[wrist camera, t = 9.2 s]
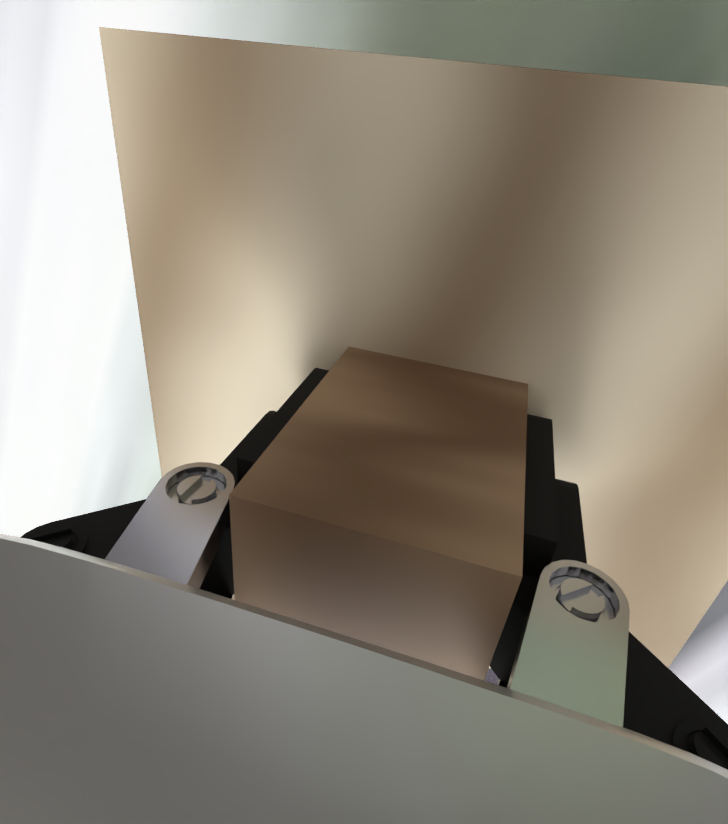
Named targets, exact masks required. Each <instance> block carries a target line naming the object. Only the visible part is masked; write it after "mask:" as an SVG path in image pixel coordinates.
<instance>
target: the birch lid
mask: <svg viewBox="0 0 728 824" xmlns="http://www.w3.org/2000/svg"><path fill="white" fill-rule="evenodd" d="M99 30H100V37H101V44H102V51H103V58H104V65H105V73H106V80H107V87H108V94H109V101H110V109H111V116H112V123H113V130H114V137H115V144H116V152H117V159H118V166H119V173H120V180H121V188H122V195H123V202H124V209H125V216H126V223H127V231H128V238H129V245H130V252H131V259H132V267H133V274H134V281H135V288H136V295H137V302H138V310H139V317H140V324H141V331H142V338H143V346H144V353H145V360H146V367H147V374H148V381H149V389H150V396H151V403H152V410H153V417H154V425H155V432H156V439H157V446H158V453H159V460H160V468H161V475H162V477H163V476H164V475H165V474H166V473H167V472H169V471H171V470H172V469H174V468H176V467H179V466H182V465H185V464H189V463H196V462H208V463H214V464H218V465H220V464H221V463H222V462H223V461H224V460H225V459H226V457H227V456H228V455H229V454H230V453H231V452H232V451H233V450H234V449H235V447H236V446H237V445H238V444H239V443H240V442H241V441H242V440H243V439H244V438H245V436H246V435H247V434H248V433H249V432H250V431H251V430H252V429H253V428H254V426H255V425H256V424H257V423H258V422H259V421H260V420H261V419H262V418H263V416H264V415H265V414H266V413H267V412H269V411H278V410H279V408H280V407H281V406H282V405H283V404H284V403H285V402H286V400H287V399H288V398H289V397H290V396H291V395H292V394H293V392H294V391H295V390H296V389H297V388H298V387H299V386H300V384H301V383H302V382H303V381H304V380H305V379H306V377H307V376H308V375H309V374H310V373H311V372H312V371H313V369H315V368H320V369H325V370H330V371H329V372H328V373H327V374H326V375H325V377H324V378H323V379H322V380H321V382H320V383H319V384H318V385H317V387H316V388H315V389H314V390H313V392H312V393H311V394H310V395H309V397H308V398H307V399H306V400H305V401H304V403H303V404H302V405H301V406H300V408H299V409H298V410H297V411H296V413H295V414H294V415H293V416H292V418H291V419H290V420H289V421H288V423H287V424H286V425H285V426H284V428H283V429H282V430H281V431H280V432H279V434H278V435H277V436H276V437H275V439H274V440H273V441H272V442H271V444H270V445H269V446H268V447H267V449H266V450H265V451H264V452H263V454H262V455H261V456H260V457H259V458H258V460H257V461H256V462H255V463H254V465H253V466H252V467H251V468H250V470H249V471H248V472H247V473H246V475H245V476H244V477H243V478H242V480H241V481H240V482H239V483H238V484H237V486H236V487H235V488H234V489H233V491H232V492H231V493H230V494H229V504H230V523H231V541H232V560H233V578H234V597H235V600H236V601H239V602H243V603H246V604H249V605H252V606H255V607H258V608H261V609H264V610H268V611H271V612H274V613H277V614H280V615H283V616H286V617H289V618H293V619H296V620H299V621H302V622H305V623H308V624H311V625H314V626H318V627H321V628H324V629H327V630H330V631H333V632H336V633H339V634H342V635H345V636H349V637H352V638H355V639H358V640H361V641H364V642H367V643H370V644H373V645H377V646H380V647H383V648H386V649H389V650H392V651H395V652H398V653H401V654H404V655H407V656H410V657H414V658H417V659H420V660H423V661H426V662H429V663H432V664H435V665H438V666H441V667H444V668H447V669H450V670H453V671H456V672H459V673H462V674H465V675H469V676H472V677H475V678H478V679H481V680H484V679H485V676H486V674H487V671H488V668H491V667H490V666H489V665H490V663H491V660H492V657H493V655H494V652H495V649H496V647H497V644H498V641H499V639H500V636H501V633H502V631H503V628H504V625H505V622H506V620H507V617H508V614H509V612H510V609H511V606H512V604H513V601H514V598H515V596H516V593H517V590H518V588H519V585H520V582H521V579H522V573H523V539H524V506H525V472H526V438H527V414H530V415H534V416H539V417H543V418H548V419H552V425H553V444H554V464H555V479H559V480H563V481H568V482H572V483H576V484H577V485H578V488H579V496H580V505H581V514H582V523H583V531H584V540H585V549H586V558H587V564H589V565H591V566H593V567H595V568H597V569H599V570H601V571H602V572H604V573H605V574H606V575H608V576H609V577H610V578H612V579H613V580H614V581H615V582H616V583H617V584H618V586H619V587H620V588H621V589H622V590H623V592H624V594H625V596H626V598H627V600H628V603H629V609H630V618H629V632H630V633H631V634H632V635H634V636H635V637H636V638H637V639H638V640H639V641H640V642H641V643H642V644H643V645H644V646H645V647H646V648H647V649H648V650H649V651H650V652H651V653H653V654H654V655H655V656H656V657H657V658H658V659H659V660H660V661H661V662H662V663H663V664H664V665H665V666H666V667H667V668H668V667H669V666H670V664H671V663H672V661H673V660H674V658H675V657H676V656H677V654H678V653H679V651H680V650H681V648H682V647H683V645H684V644H685V642H686V641H687V639H688V638H689V636H690V635H691V633H692V632H693V630H694V629H695V628H696V626H697V625H698V623H699V622H700V620H701V619H702V617H703V616H704V614H705V613H706V611H707V610H708V608H709V607H710V605H711V604H712V602H713V601H714V599H715V598H716V597H717V595H718V594H719V592H720V591H721V589H722V588H723V586H724V585H725V583H726V582H727V580H728V87H727V86H716V85H705V84H695V83H684V82H674V81H663V80H653V79H642V78H631V77H621V76H610V75H600V74H589V73H579V72H568V71H558V70H547V69H536V68H526V67H515V66H505V65H494V64H484V63H473V62H462V61H452V60H441V59H431V58H420V57H410V56H399V55H389V54H378V53H367V52H357V51H346V50H336V49H325V48H315V47H304V46H293V45H283V44H272V43H262V42H251V41H241V40H230V39H220V38H209V37H198V36H188V35H177V34H167V33H156V32H146V31H135V30H124V29H114V28H103V27H99Z"/></svg>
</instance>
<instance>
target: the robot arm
mask: <svg viewBox="0 0 728 824" xmlns="http://www.w3.org/2000/svg"><path fill="white" fill-rule="evenodd" d="M329 371H330V370H325V369H320V368H315V369H313V371H312V372H311V373H310V374H309V375H308V376H307V377H306V379H305V380H304V381H303V382H302V383H301V384H300V386H299V387H298V388H297V389H296V390H295V391H294V392H293V394H292V395H291V396H290V397H289V398H288V399H287V400H286V402H285V403H284V404H283V405H282V406H281V407H280V408H279V410H278V411H269V412H267V413H266V414H265V415H264V416H263V418H262V419H261V420H260V421H259V422H258V423H257V424H256V425H255V426H254V428H253V429H252V430H251V431H250V432H249V433H248V434H247V435H246V436H245V438H244V439H243V440H242V441H241V442H240V443H239V444H238V445H237V446H236V447H235V449H234V450H233V451H232V452H231V453H230V454H229V455H228V456H227V457H226V459H225V460H224V461H223V462H222V463H221V464H220V465H218V464H214V463H208V462H196V463H189V464H185V465H182V466H179V467H176V468H174V469H172V470H171V471H169V472H167V473H166V474H165V475H164V476H163V477H162V478H161V479H160V481H159V482H158V483H157V485H156V486H155V488H154V489H153V491H152V492H151V493H150V495H149V496H148V498H147V499H145V500H141V501H137V502H133V503H129V504H125V505H121V506H117V507H112V508H108V509H104V510H100V511H96V512H92V513H88V514H84V515H80V516H75V517H71V518H67V519H63V520H59V521H55V522H51V523H48V524H45V525H42V526H39V527H37V528H35V529H33V530H31V531H29V532H27V533H25V534H24V535H23V536H22V537H15V536H9V535H3V534H0V824H728V724H727V723H726V722H724V721H723V720H722V719H721V718H720V717H719V716H718V715H717V714H716V713H715V712H714V711H713V710H712V709H711V708H710V707H709V706H708V705H707V704H705V703H704V702H703V701H702V700H701V699H700V698H699V697H698V696H697V695H696V694H695V693H694V692H693V691H692V690H691V689H690V688H689V687H687V686H686V685H685V684H684V683H683V682H682V681H681V680H680V679H679V678H678V677H677V676H676V675H675V674H674V673H673V672H672V671H671V670H669V669H668V668H667V667H666V666H665V665H664V664H663V663H662V662H661V661H660V660H659V659H658V658H657V657H656V656H655V655H654V654H653V653H651V652H650V651H649V650H648V649H647V648H646V647H645V646H644V645H643V644H642V643H641V642H640V641H639V640H638V639H637V638H636V637H635V636H634V635H632V634H631V633H630V632H629V618H630V609H629V603H628V600H627V598H626V596H625V594H624V592H623V590H622V589H621V588H620V587H619V586H618V584H617V583H616V582H615V581H614V580H613V579H612V578H610V577H609V576H608V575H606V574H605V573H604V572H602V571H601V570H599V569H597V568H595V567H593V566H591V565H589V564H587V558H586V549H585V540H584V531H583V523H582V514H581V505H580V496H579V488H578V485H577V484H576V483H572V482H568V481H563V480H559V479H555V464H554V444H553V425H552V419H548V418H543V417H539V416H534V415H530V414H527V438H526V472H525V506H524V539H523V573H522V579H521V582H520V585H519V588H518V590H517V593H516V596H515V598H514V601H513V604H512V606H511V609H510V612H509V614H508V617H507V620H506V622H505V625H504V628H503V631H502V633H501V636H500V639H499V641H498V644H497V647H496V649H495V652H494V655H493V657H492V660H491V663H490V665H489V666H490V667H491V669H492V670H493V671H494V673H495V674H496V675H497V677H498V678H499V681H498V683H497V685H496V684H493V683H490V682H487V681H484V680H481V679H478V678H475V677H472V676H469V675H465V674H462V673H459V672H456V671H453V670H450V669H447V668H444V667H441V666H438V665H435V664H432V663H429V662H426V661H423V660H420V659H417V658H414V657H410V656H407V655H404V654H401V653H398V652H395V651H392V650H389V649H386V648H383V647H380V646H377V645H373V644H370V643H367V642H364V641H361V640H358V639H355V638H352V637H349V636H345V635H342V634H339V633H336V632H333V631H330V630H327V629H324V628H321V627H318V626H314V625H311V624H308V623H305V622H302V621H299V620H296V619H293V618H289V617H286V616H283V615H280V614H277V613H274V612H271V611H268V610H264V609H261V608H258V607H255V606H252V605H249V604H246V603H243V602H239V601H236V600H235V597H234V578H233V560H232V541H231V523H230V504H229V494H230V493H231V492H232V491H233V489H234V488H235V487H236V486H237V484H238V483H239V482H240V481H241V480H242V478H243V477H244V476H245V475H246V473H247V472H248V471H249V470H250V468H251V467H252V466H253V465H254V463H255V462H256V461H257V460H258V458H259V457H260V456H261V455H262V454H263V452H264V451H265V450H266V449H267V447H268V446H269V445H270V444H271V442H272V441H273V440H274V439H275V437H276V436H277V435H278V434H279V432H280V431H281V430H282V429H283V428H284V426H285V425H286V424H287V423H288V421H289V420H290V419H291V418H292V416H293V415H294V414H295V413H296V411H297V410H298V409H299V408H300V406H301V405H302V404H303V403H304V401H305V400H306V399H307V398H308V397H309V395H310V394H311V393H312V392H313V390H314V389H315V388H316V387H317V385H318V384H319V383H320V382H321V380H322V379H323V378H324V377H325V375H326V374H327V373H328V372H329Z"/></svg>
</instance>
